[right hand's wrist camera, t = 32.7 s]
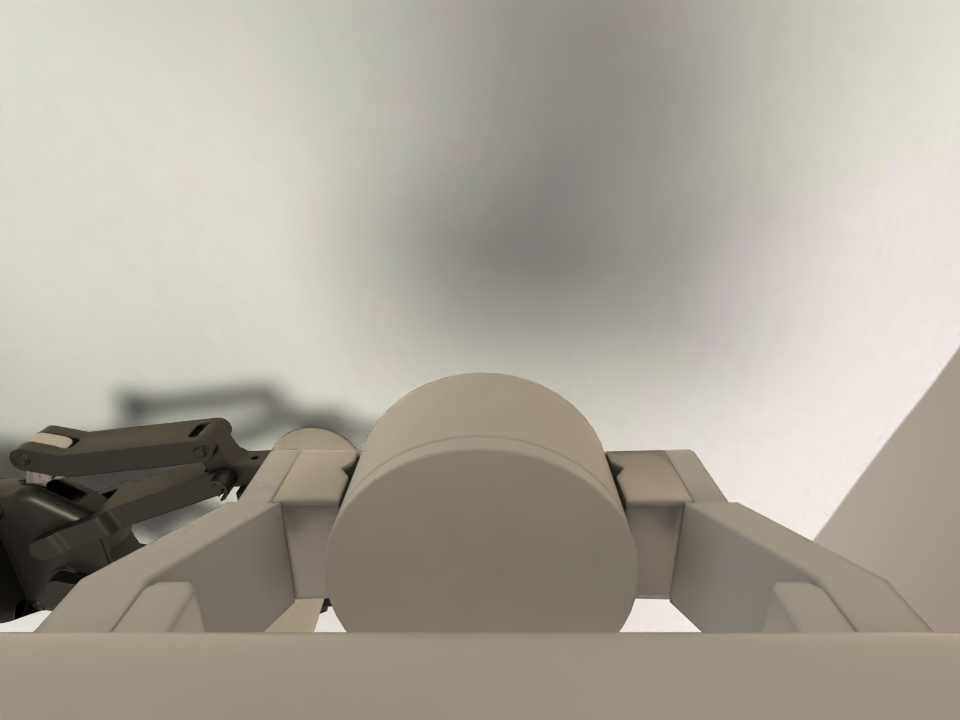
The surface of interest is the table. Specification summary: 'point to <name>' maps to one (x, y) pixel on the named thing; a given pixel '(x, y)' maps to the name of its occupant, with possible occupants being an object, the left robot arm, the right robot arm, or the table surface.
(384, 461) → the cap
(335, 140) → the table surface
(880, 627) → the right robot arm
